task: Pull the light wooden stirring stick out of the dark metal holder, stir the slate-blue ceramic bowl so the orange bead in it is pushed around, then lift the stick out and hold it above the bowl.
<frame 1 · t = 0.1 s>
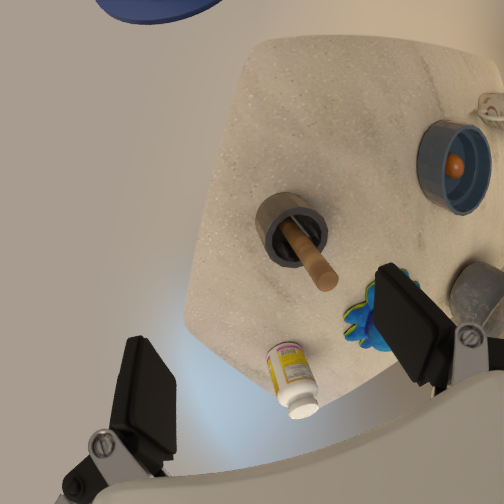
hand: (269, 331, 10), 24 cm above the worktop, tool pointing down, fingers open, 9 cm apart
stick: (284, 220, 34), resting on holder
supplement bottle: (283, 352, 47), on the worktop
mixing bowl: (444, 162, 34), on the worktop
mug: (480, 110, 31), on the worktop
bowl: (459, 279, 48), on the worktop
bead: (453, 166, 32), point 3 cm above the worktop, touching mixing bowl
holder: (283, 219, 35), on the worktop
plush toy: (382, 310, 47), on the worktop
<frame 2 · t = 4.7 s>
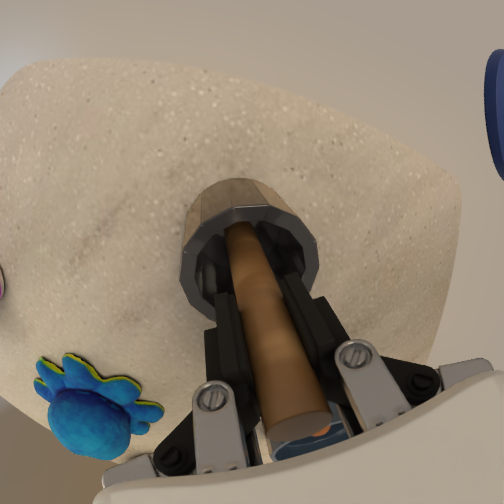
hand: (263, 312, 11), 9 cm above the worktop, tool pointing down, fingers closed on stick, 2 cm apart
stick: (238, 231, 19), point 1 cm above the worktop, touching gripper
mixing bowl: (311, 409, 33), on the worktop
bead: (316, 423, 31), point 3 cm above the worktop, touching mixing bowl
holder: (237, 228, 19), on the worktop
plush toy: (94, 397, 26), on the worktop
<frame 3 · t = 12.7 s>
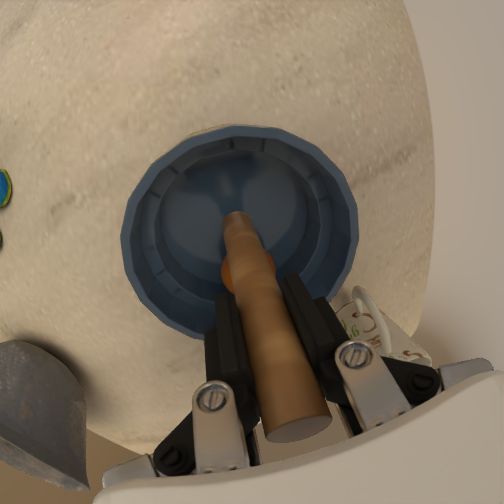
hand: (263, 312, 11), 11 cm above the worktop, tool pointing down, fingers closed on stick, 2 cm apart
stick: (236, 224, 18), point 2 cm above the worktop, touching gripper
mixing bowl: (234, 218, 21), on the worktop
mug: (348, 307, 28), on the worktop
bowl: (45, 359, 25), on the worktop
bead: (248, 271, 20), point 3 cm above the worktop, tilted 107°, touching mixing bowl
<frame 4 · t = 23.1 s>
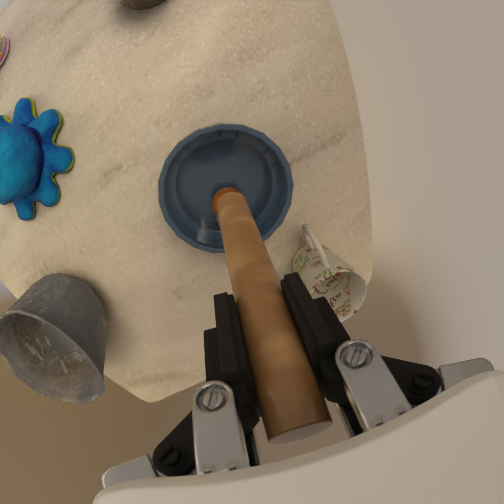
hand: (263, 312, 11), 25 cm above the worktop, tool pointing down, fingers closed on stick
stick: (231, 205, 18), point 17 cm above the worktop, tilted 10°, touching gripper
mixing bowl: (222, 179, 33), on the worktop
mug: (306, 249, 40), on the worktop
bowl: (76, 296, 37), on the worktop
bead: (228, 203, 32), point 3 cm above the worktop, tilted 82°, touching mixing bowl
plush toy: (25, 159, 26), on the worktop
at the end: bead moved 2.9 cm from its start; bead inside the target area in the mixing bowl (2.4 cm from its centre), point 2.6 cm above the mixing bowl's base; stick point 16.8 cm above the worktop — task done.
